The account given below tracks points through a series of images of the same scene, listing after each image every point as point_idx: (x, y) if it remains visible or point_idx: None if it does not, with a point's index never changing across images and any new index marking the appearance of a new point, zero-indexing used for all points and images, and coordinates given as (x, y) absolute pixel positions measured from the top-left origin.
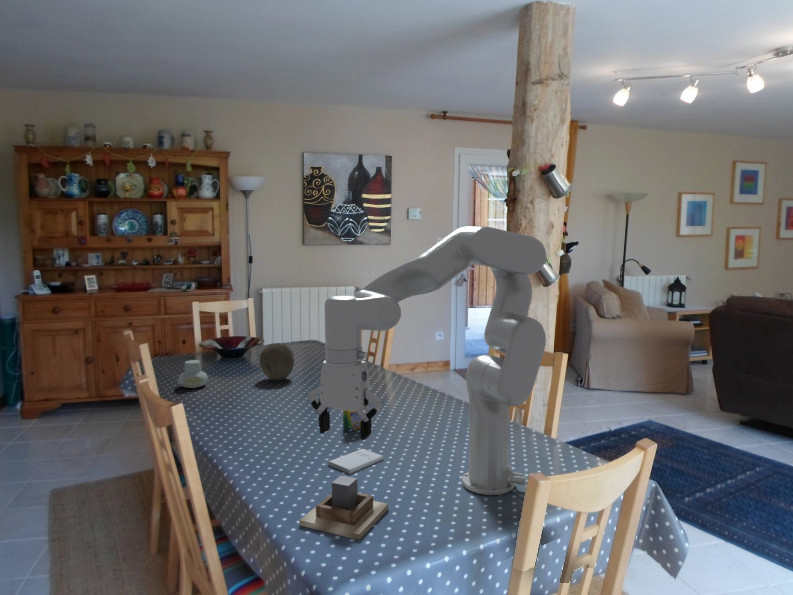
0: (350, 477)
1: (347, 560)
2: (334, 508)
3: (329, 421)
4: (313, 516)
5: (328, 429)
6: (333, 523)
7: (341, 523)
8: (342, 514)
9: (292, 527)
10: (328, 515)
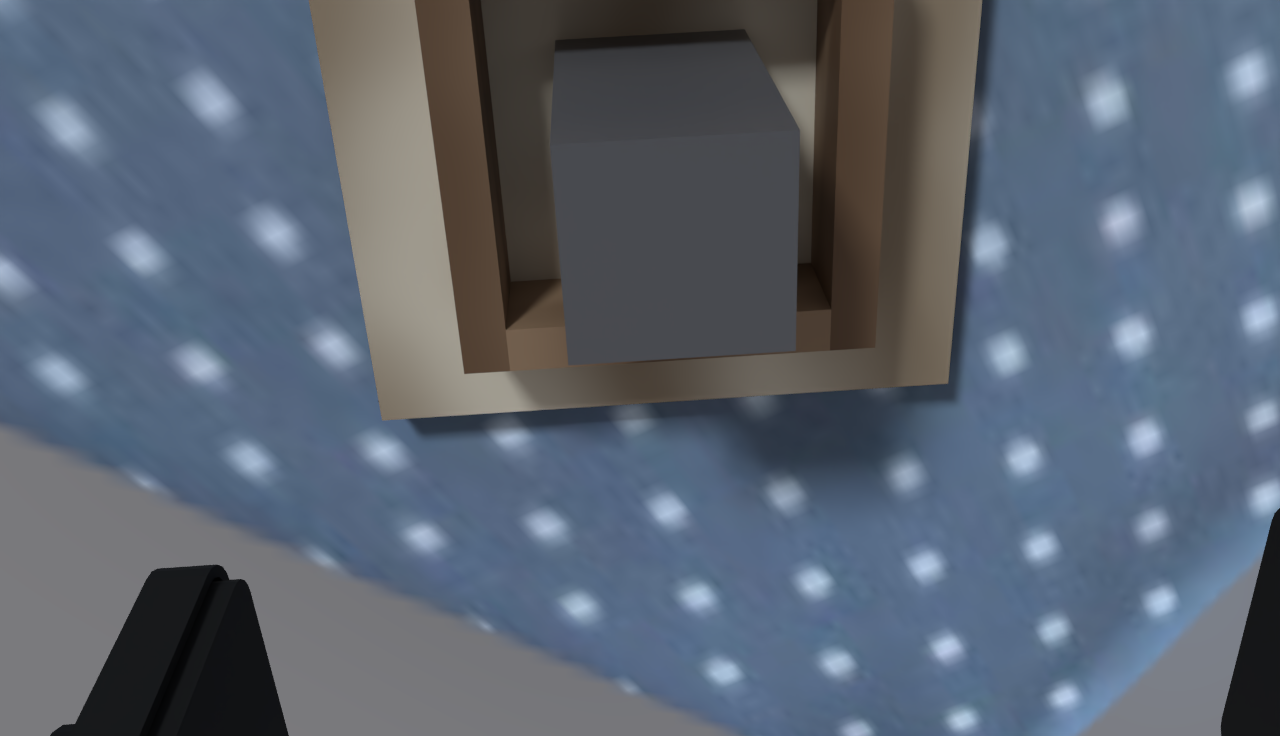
0: (700, 144)
1: (959, 579)
2: None
3: (187, 730)
4: (446, 327)
5: (257, 636)
6: None
7: None
8: None
9: (358, 437)
10: None
